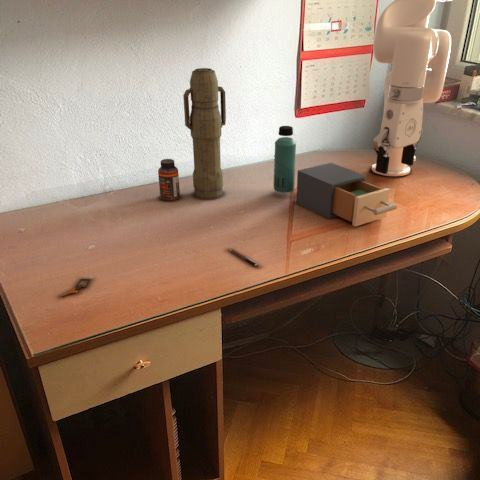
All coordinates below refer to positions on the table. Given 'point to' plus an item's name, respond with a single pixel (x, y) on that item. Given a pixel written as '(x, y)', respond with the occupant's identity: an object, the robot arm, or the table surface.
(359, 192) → the block
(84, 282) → the key tag
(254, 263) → the pen
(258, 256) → the table surface
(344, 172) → the cabinet
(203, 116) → the thermos
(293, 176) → the beverage bottle
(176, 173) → the supplement bottle
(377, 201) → the drawer
